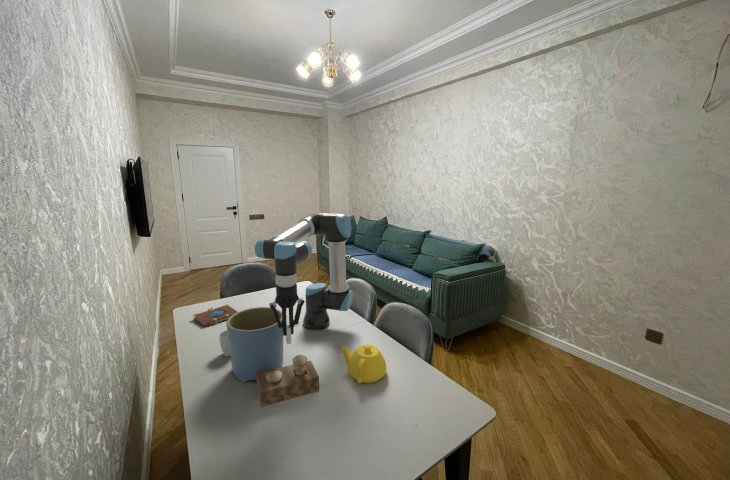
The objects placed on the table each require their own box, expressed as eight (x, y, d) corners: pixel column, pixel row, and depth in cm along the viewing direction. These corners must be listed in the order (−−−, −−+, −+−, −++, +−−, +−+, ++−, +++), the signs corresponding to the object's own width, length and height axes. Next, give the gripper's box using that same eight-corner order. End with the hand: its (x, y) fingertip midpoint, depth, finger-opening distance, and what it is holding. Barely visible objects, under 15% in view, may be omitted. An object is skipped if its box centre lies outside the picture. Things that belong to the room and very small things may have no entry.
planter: (232, 391, 118) (228, 336, 114) (228, 360, 138) (224, 312, 133) (290, 375, 129) (289, 323, 124) (279, 348, 148) (277, 303, 144)
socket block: (311, 373, 130) (310, 360, 129) (319, 390, 120) (319, 377, 119) (257, 386, 121) (256, 373, 120) (260, 407, 110) (260, 392, 109)
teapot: (390, 366, 136) (391, 340, 134) (378, 393, 119) (379, 364, 116) (348, 357, 143) (349, 332, 140) (331, 381, 125) (331, 353, 123)
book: (246, 315, 186) (246, 308, 185) (204, 330, 167) (203, 322, 166) (233, 306, 196) (232, 299, 195) (192, 319, 177) (191, 311, 176)
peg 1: (281, 385, 122) (280, 369, 121) (284, 394, 117) (283, 377, 115) (266, 389, 120) (265, 372, 118) (268, 398, 114) (267, 381, 113)
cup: (232, 359, 139) (230, 339, 137) (216, 356, 141) (214, 337, 139) (242, 349, 147) (241, 330, 145) (227, 347, 148) (226, 328, 146)
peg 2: (305, 369, 125) (305, 353, 124) (309, 377, 120) (309, 361, 119) (291, 373, 123) (291, 356, 122) (294, 381, 118) (294, 364, 116)
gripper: (301, 278, 118) (303, 334, 123) (266, 282, 113) (269, 340, 118) (306, 285, 111) (307, 343, 116) (269, 289, 106) (272, 350, 111)
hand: (288, 342), depth 117 cm, fingers closed
